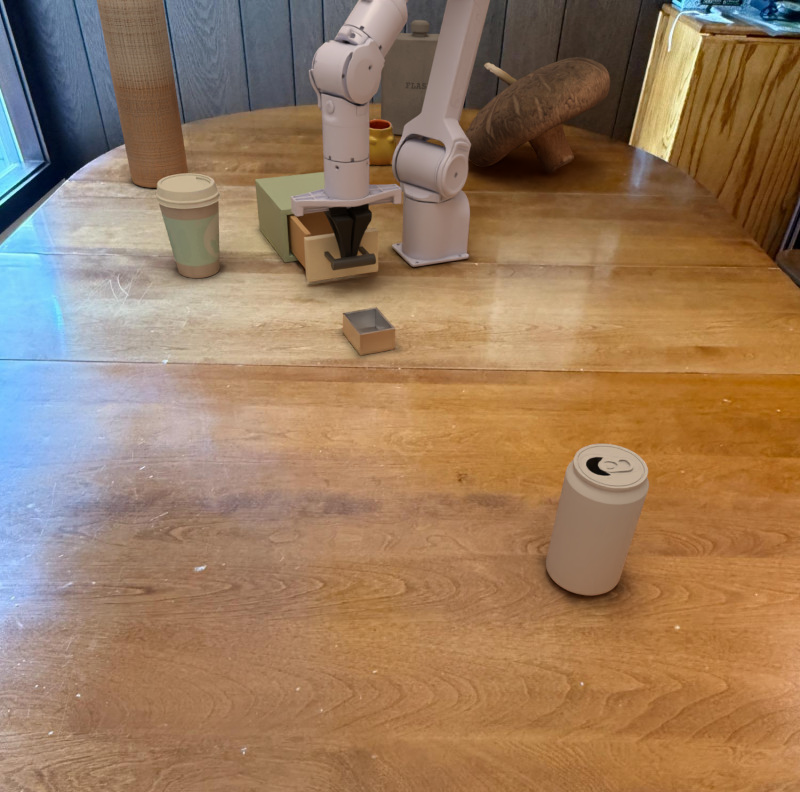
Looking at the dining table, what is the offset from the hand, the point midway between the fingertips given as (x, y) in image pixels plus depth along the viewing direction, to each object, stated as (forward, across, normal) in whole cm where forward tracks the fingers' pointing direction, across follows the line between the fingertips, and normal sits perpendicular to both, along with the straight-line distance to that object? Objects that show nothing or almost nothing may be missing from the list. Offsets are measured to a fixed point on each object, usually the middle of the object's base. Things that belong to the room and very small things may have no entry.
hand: (348, 262), depth 105 cm
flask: (+4, -40, -66) cm, 77 cm away
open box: (+4, +3, +15) cm, 16 cm away
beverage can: (+4, +1, +60) cm, 60 cm away
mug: (+4, -26, -53) cm, 59 cm away
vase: (+4, +16, -53) cm, 55 cm away
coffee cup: (+4, +18, -13) cm, 23 cm away
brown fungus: (+4, -51, -37) cm, 63 cm away
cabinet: (+4, 0, -18) cm, 18 cm away
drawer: (+3, 0, -6) cm, 6 cm away
